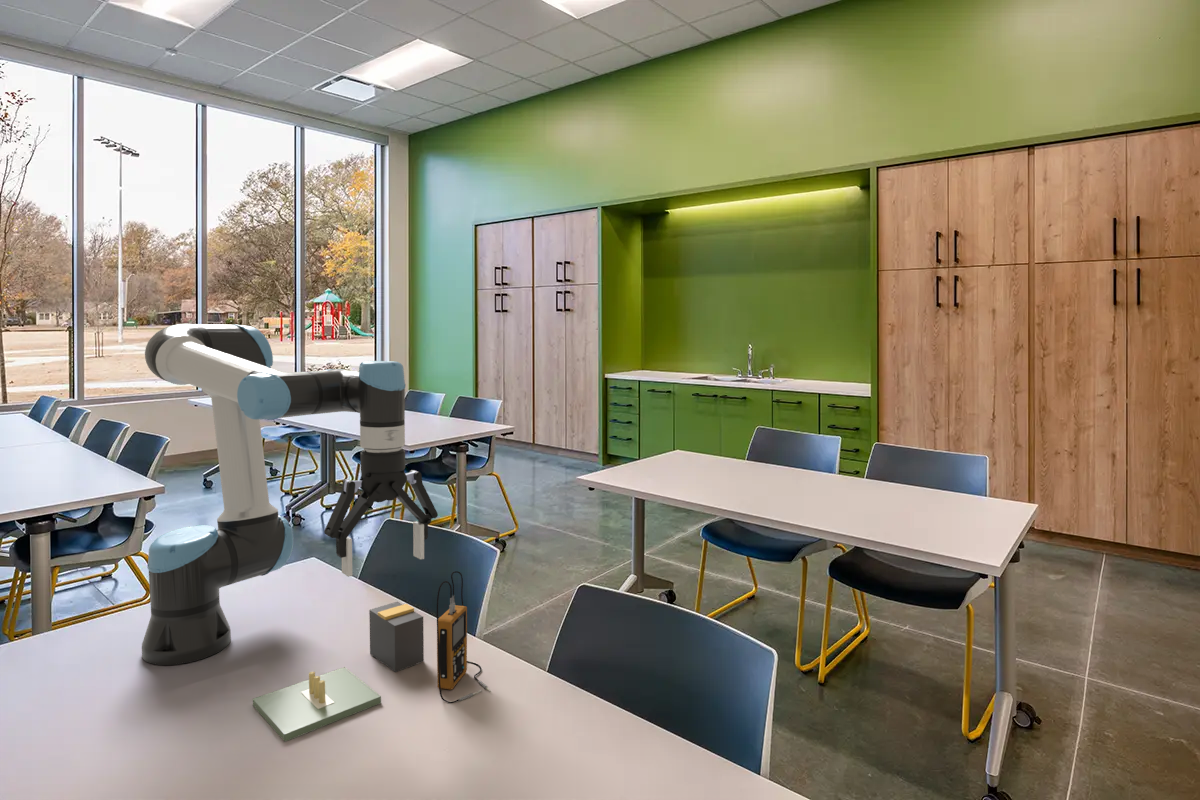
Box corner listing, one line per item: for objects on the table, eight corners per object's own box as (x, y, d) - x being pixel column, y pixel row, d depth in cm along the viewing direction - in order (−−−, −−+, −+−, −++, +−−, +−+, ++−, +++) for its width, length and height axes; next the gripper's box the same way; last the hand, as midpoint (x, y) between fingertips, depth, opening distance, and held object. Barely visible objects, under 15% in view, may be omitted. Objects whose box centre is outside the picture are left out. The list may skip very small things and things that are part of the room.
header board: (252, 705, 114) (252, 678, 114) (344, 673, 125) (344, 648, 125) (284, 741, 104) (283, 712, 104) (381, 702, 116) (380, 676, 115)
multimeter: (482, 708, 115) (482, 595, 113) (427, 701, 117) (426, 589, 115) (510, 667, 129) (511, 565, 127) (461, 661, 131) (461, 561, 129)
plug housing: (369, 653, 133) (369, 606, 132) (398, 643, 138) (397, 598, 137) (395, 672, 126) (394, 622, 125) (423, 661, 131) (423, 613, 130)
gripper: (319, 459, 108) (322, 588, 110) (455, 444, 125) (456, 555, 127) (302, 453, 113) (305, 575, 115) (435, 439, 130) (435, 546, 132)
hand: (384, 565), depth 121 cm, fingers open, 13 cm apart
